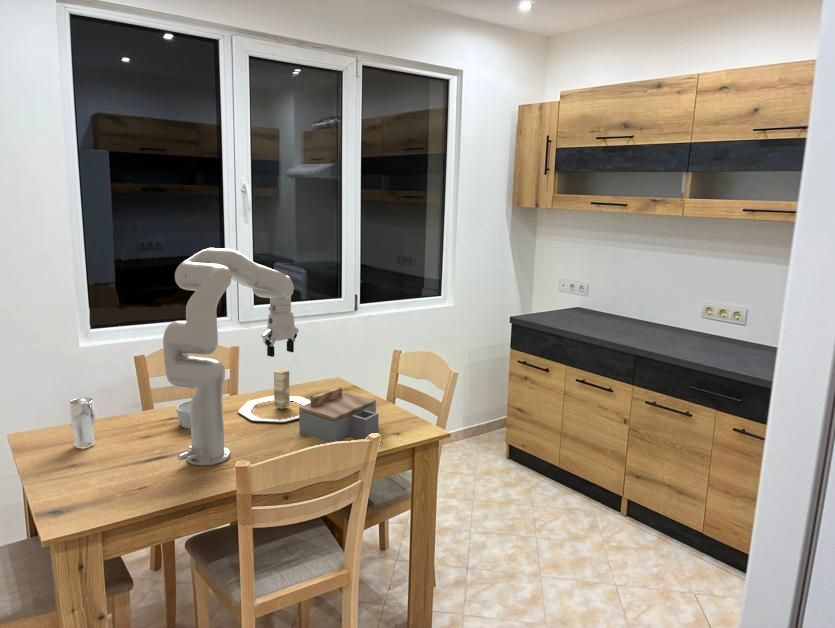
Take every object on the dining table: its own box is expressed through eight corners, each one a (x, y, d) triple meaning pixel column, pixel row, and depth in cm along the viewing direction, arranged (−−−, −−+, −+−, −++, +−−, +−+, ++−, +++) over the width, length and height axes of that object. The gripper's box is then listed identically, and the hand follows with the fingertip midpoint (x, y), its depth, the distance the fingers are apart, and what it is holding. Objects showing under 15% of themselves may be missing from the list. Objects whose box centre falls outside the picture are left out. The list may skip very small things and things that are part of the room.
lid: (334, 420, 198) (334, 409, 197) (299, 409, 207) (299, 398, 206) (375, 402, 216) (376, 391, 215) (341, 393, 225) (341, 383, 224)
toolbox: (350, 449, 196) (350, 426, 194) (299, 432, 208) (299, 410, 207) (391, 429, 214) (391, 407, 212) (341, 414, 226) (341, 394, 225)
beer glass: (102, 442, 196) (99, 398, 193) (85, 451, 189) (81, 405, 186) (84, 439, 198) (81, 396, 195) (67, 448, 191) (63, 403, 188)
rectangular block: (282, 408, 228) (281, 373, 225) (274, 406, 230) (273, 371, 227) (289, 405, 231) (289, 370, 228) (282, 403, 233) (281, 368, 231)
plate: (227, 409, 230) (227, 405, 230) (291, 394, 248) (291, 391, 248) (262, 431, 210) (262, 427, 210) (329, 413, 228) (329, 410, 228)
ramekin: (180, 433, 205) (179, 414, 204) (174, 420, 216) (173, 402, 215) (220, 427, 211) (219, 408, 210) (213, 415, 223) (212, 396, 221)
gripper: (269, 312, 214) (270, 359, 217) (304, 307, 228) (304, 351, 231) (255, 310, 218) (255, 356, 221) (290, 305, 232) (290, 348, 235)
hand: (280, 353), depth 226 cm, fingers open, 9 cm apart
